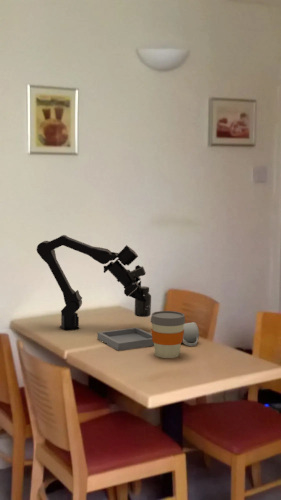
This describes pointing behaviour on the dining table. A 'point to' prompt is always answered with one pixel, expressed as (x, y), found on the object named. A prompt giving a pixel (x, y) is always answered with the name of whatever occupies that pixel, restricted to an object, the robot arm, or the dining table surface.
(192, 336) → the ceramic mug
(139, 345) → the tray
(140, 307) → the supplement bottle
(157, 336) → the reusable coffee cup
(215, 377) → the dining table surface
